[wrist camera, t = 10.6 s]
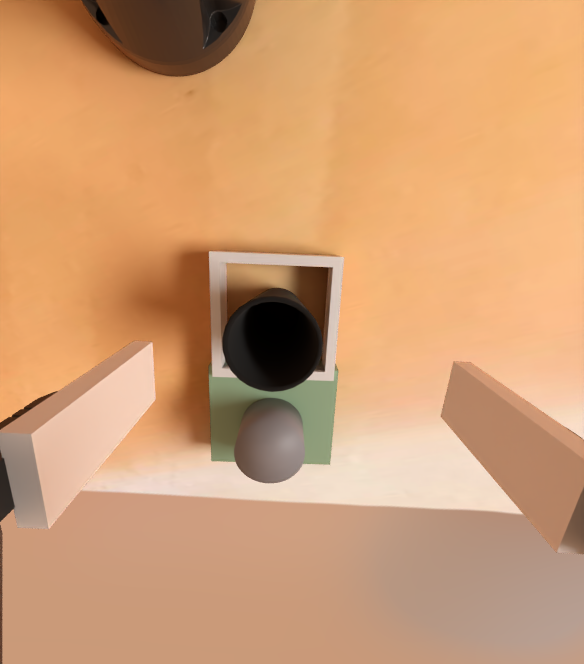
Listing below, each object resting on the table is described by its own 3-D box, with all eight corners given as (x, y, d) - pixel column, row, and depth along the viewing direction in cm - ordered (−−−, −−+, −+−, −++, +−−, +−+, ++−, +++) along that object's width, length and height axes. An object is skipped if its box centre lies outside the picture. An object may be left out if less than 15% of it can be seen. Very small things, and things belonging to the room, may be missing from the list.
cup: (257, 353, 37) (242, 404, 25) (233, 291, 35) (206, 315, 23) (320, 333, 36) (335, 375, 25) (299, 269, 34) (305, 282, 23)
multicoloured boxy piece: (212, 250, 34) (189, 252, 26) (343, 255, 34) (359, 259, 26) (216, 445, 40) (200, 493, 32) (327, 448, 40) (336, 497, 33)
